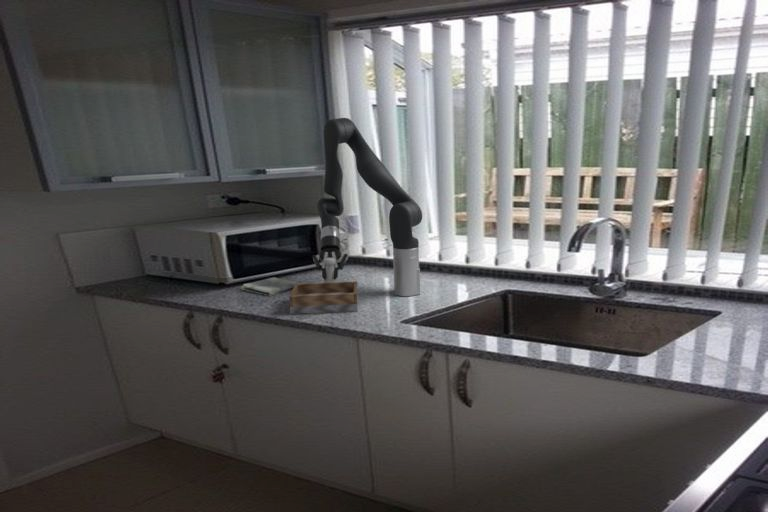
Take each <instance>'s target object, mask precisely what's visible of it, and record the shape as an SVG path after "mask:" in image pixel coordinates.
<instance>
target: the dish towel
mask: <svg viewBox="0 0 768 512" xmlns="http://www.w3.org/2000/svg"><path fill="white" fill-rule="evenodd" d="M295 284H303V282H299V281H293V280H288V279H284V278H283V279H282V278H277V277H269V278H265V279H262V280H257V281H253V282H247V283H243V285H241V286H240V290H241V289H242V290H241V291H244V290H246V291H245V292H249V291H250V292H249V293H254V292H255V293H254V294H258V293H259V294H258V295H262V294H264V295H263V296H267V295H268V296H267V297H273V296H275V294H276V295H278V293H279V294H282V293H285V292H288V291H292V290H293V288H294V286H295ZM291 289H292V290H291ZM272 295H273V296H272Z"/></svg>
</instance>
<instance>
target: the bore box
mask: <svg viewBox="0 0 768 512" xmlns="http://www.w3.org/2000/svg"><path fill="white" fill-rule="evenodd" d="M288 298H289V312H290V315H300V314H299V313H308V314H326V313H327V312H331V313H349V312H348V311H354V312H358V307H359V305H358V304H359V301H358V299H359V296H358V281H338V282H332V283H323V282H316V283H315V282H314V283H313V282H312V283H311V282H310V283H308V282H307V283H302V284H295V286H294V288H293V289H292V290H291V292H290V295H289V297H288ZM327 314H328V313H327Z"/></svg>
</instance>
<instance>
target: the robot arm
mask: <svg viewBox="0 0 768 512" xmlns="http://www.w3.org/2000/svg"><path fill="white" fill-rule="evenodd" d="M340 144H346V145H347V146H348V147H349V148H350V149H351V151H352V153H353V154H354V156H355V163H356V170H357V173H358V174H359V176H360V177H361V179H362V180H363V181H364V182H365V184H366V185H367V186H368V187H369V188H370V189H371V190H373V191H374V192H376V193H377V194H379V195H380V196H382V197H383V198H385V199H386V200H387V201H388V202H389V203H390V204H391V205H392V207H391V208H390V210H389V216H388V222H389V237H390V240H391V242H392V253H393V254H392V257H393V259H392V260H393V261H392V263H393V289H394V290H393V292H394V293H393V294H394V295H395V296H400V297H412V296H418V295H421V279H420V278H421V273H420V272H421V271H420V270H421V268H420V259H419V257H420V256H419V254H420V250H419V249H420V247H419V246H420V245H419V239H418V238H417V237H415V236H414V235H413V227H416V226H418V225H419V224H420V223H422V220H423V211H422V209H421V207H420V206H419V204H418V203H417V202H416V201H415V200H414V199H413V198H412V197H411V196H410V194H408V193H407V191H405V190H404V189H403V187H402V186H401V185H400V184H399V183H398V181H397V180H396V179H395V178H394V176H393V175H392V174H391V172H390V171H389V170H388V168H387V167H386V166H385V165H384V163H383V162H382V161H381V160H380V159H379V157H378V156H377V154H376V153H375V152H374V151H373V150H372V148H371V147H370V145H369V144H368V143H367V142H366V140H365V139H364V136H363V135H362V133H361V132H360V131H359V129H358V127H357V126H356V125H355V122H353V121H352V120H351V119H350V118H348V117H340V118H332V119H328V120H326V122H325V124H324V127H323V145H324V146H323V147H324V149H323V151H324V162H325V166H324V167H325V168H324V169H325V171H324V181H323V192H324V193H325V194H326V195H328V196H332V197H334V198H331V197H329V198H328V197H321V198H319V200H318V201H317V204H316V207H317V212H318V216H319V218H320V222H321V229H320V230H321V232H320V251H319V253H318V254H316V255H315V254H313V255H312V260H313V263H314V265H315V266H316V269H317V270H318V271H321V276H322V279H323V281H324V280H326V269H325V266H326V265H325V264H324V259H325V258H334V259H335V264H334V279H336V278H337V279H338V277H339V271H340V270H343V269H344V267H345V265H346V263H347V261H348V254H347V253H342V252H341V234H340V220H339V218H338V217H340V216H341V215H342V214H343V212H344V203H343V196H342V188H343V186H342V185H343V176H344V175H343V174H344V173H343V169H342V167H341V163H340V162H339V158H338V148H339V145H340ZM340 258H341V261H340V262H339V264H338V261H339V260H340ZM320 259H321V260H322V265H321V264H320Z"/></svg>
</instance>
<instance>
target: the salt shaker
mask: <svg viewBox="0 0 768 512" xmlns="http://www.w3.org/2000/svg"><path fill="white" fill-rule="evenodd" d="M324 264H325V265H326V266H325V269H326V280H324V279H323V282H322V283H332V282H339V281H338V278H336V279H334V264H335V259H334V258H325V259H324Z"/></svg>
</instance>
